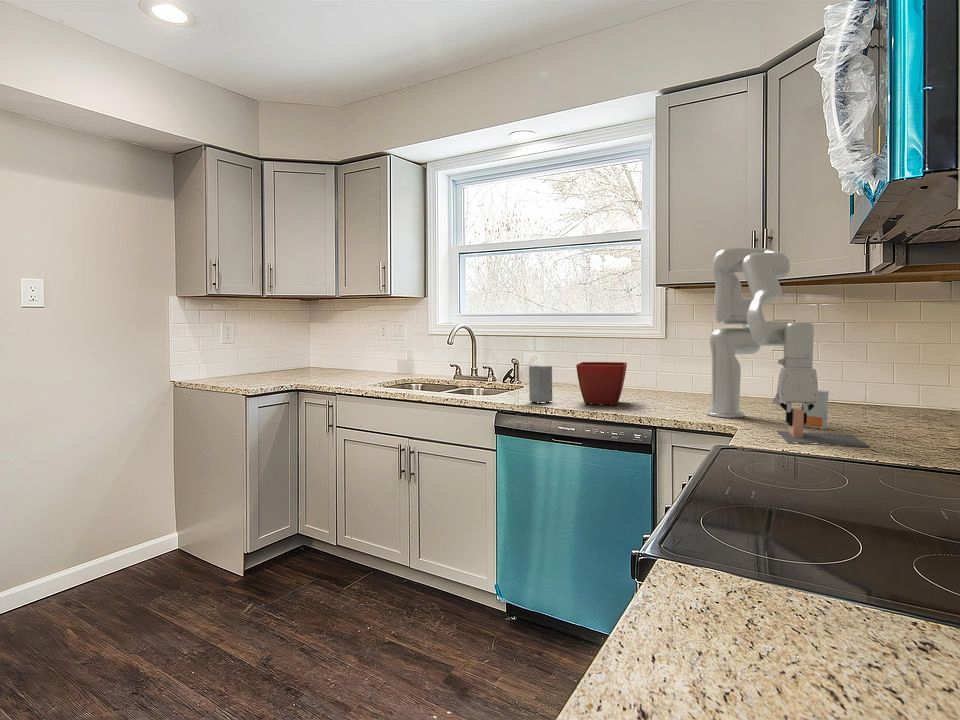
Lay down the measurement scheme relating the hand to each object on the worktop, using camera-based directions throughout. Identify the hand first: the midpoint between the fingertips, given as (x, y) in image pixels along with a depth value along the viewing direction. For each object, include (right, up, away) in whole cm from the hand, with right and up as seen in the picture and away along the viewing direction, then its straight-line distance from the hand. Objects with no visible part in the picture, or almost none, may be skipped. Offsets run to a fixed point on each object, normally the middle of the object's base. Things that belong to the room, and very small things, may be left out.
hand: (795, 425), depth 167 cm
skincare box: (+14, -3, +14) cm, 20 cm away
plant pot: (-43, +1, +69) cm, 81 cm away
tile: (0, -3, 0) cm, 3 cm away
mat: (+5, -4, -4) cm, 7 cm away
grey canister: (-68, +1, +72) cm, 99 cm away
